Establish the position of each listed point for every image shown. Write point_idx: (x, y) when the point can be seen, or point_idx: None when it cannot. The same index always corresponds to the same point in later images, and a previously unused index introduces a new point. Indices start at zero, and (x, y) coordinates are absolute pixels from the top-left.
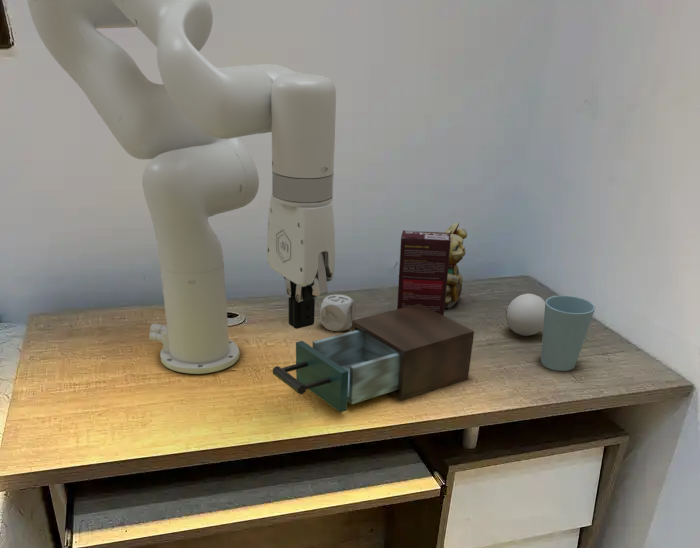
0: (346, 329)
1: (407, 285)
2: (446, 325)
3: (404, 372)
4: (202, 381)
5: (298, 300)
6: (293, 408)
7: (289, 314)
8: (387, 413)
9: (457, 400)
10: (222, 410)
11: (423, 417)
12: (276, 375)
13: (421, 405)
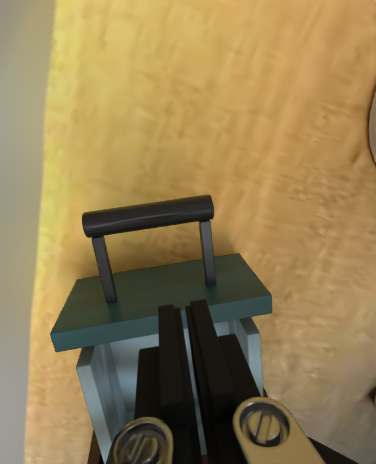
0: (374, 400)
1: None
2: None
3: (91, 442)
4: (350, 72)
5: (148, 430)
6: None
7: (205, 325)
8: (68, 352)
9: (69, 458)
10: (208, 61)
11: (33, 397)
12: (188, 197)
13: (74, 408)
